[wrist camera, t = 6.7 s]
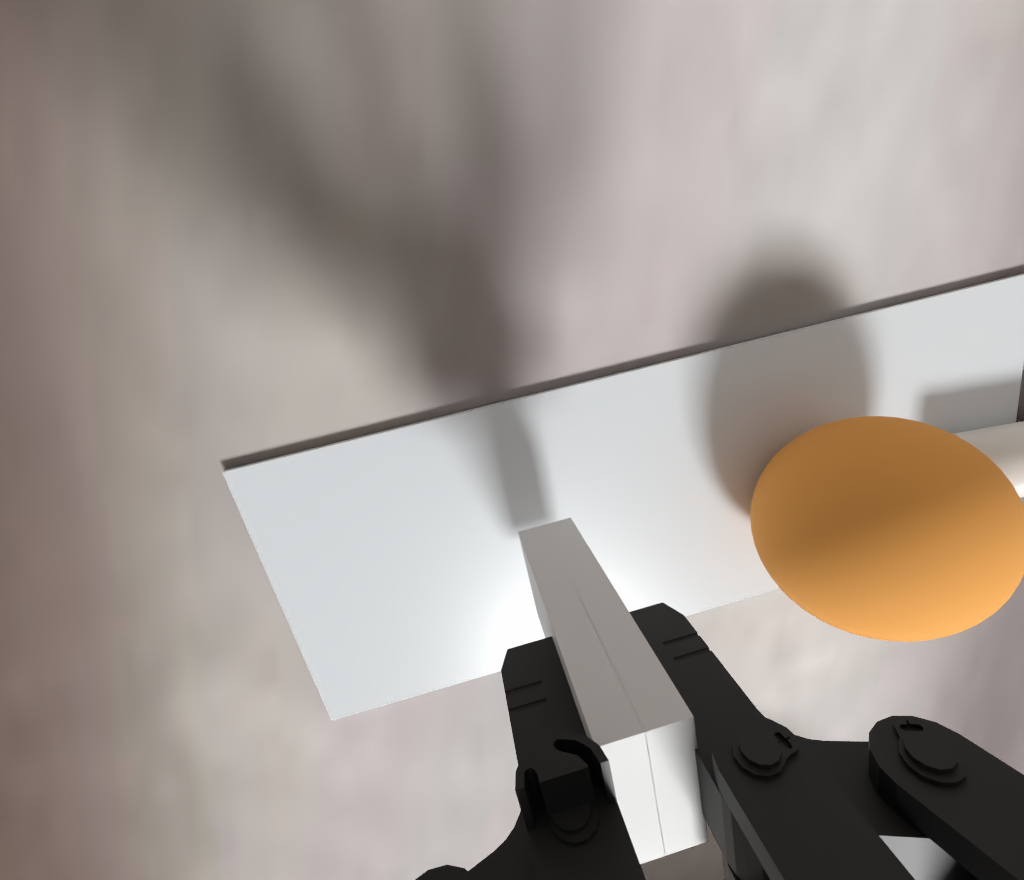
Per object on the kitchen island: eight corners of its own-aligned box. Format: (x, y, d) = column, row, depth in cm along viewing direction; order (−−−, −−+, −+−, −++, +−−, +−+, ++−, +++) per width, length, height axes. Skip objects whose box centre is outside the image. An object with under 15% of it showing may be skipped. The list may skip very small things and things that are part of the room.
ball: (1045, 502, 14) (811, 454, 18) (1085, 389, 10) (773, 362, 14) (980, 705, 13) (748, 601, 17) (996, 671, 9) (689, 547, 13)
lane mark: (332, 715, 16) (331, 720, 16) (224, 470, 13) (222, 472, 13) (996, 520, 18) (1002, 522, 18) (1028, 271, 15) (1036, 271, 15)
